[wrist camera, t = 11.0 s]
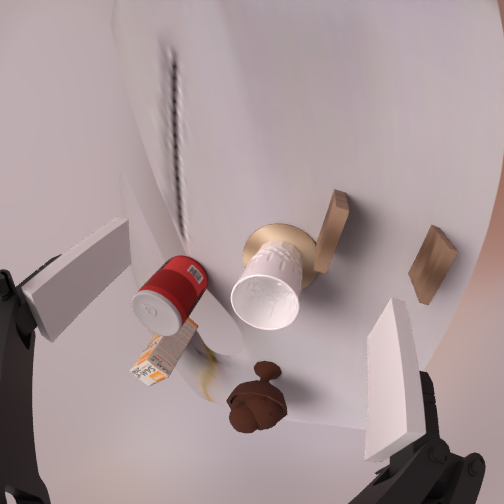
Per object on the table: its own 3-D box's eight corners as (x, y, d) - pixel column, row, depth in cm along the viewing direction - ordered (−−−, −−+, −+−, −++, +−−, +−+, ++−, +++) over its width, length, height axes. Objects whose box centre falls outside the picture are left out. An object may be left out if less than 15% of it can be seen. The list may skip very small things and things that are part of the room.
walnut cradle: (334, 189, 34) (336, 206, 28) (439, 228, 32) (458, 251, 26) (316, 243, 38) (313, 270, 32) (416, 276, 36) (428, 305, 30)
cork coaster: (252, 214, 38) (250, 215, 38) (330, 237, 37) (330, 239, 37) (238, 278, 44) (236, 280, 43) (306, 299, 43) (305, 302, 42)
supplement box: (180, 308, 50) (145, 358, 39) (199, 325, 51) (169, 377, 40) (160, 325, 55) (128, 371, 43) (177, 341, 55) (148, 388, 44)
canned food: (166, 248, 45) (128, 285, 35) (211, 262, 44) (180, 305, 34) (165, 285, 49) (133, 324, 39) (207, 299, 48) (180, 343, 38)
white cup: (316, 250, 38) (312, 294, 29) (292, 292, 42) (281, 339, 33) (263, 226, 38) (243, 263, 30) (244, 270, 42) (222, 312, 34)
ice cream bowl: (249, 385, 57) (229, 443, 44) (234, 350, 52) (208, 414, 39) (297, 386, 53) (284, 449, 40) (289, 350, 49) (272, 421, 36)
